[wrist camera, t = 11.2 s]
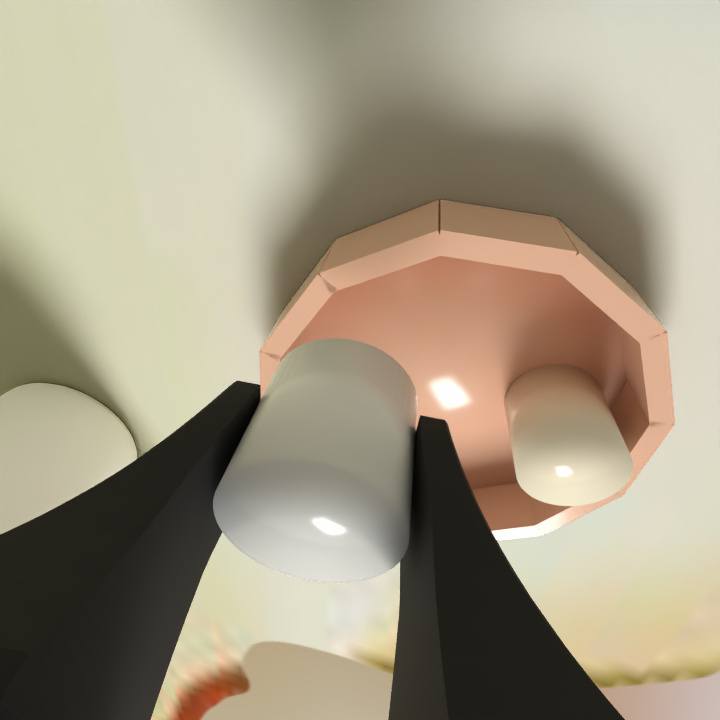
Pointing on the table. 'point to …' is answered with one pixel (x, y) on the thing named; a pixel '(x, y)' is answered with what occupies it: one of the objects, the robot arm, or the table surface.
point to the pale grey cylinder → (325, 466)
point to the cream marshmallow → (565, 437)
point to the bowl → (488, 334)
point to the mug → (55, 449)
